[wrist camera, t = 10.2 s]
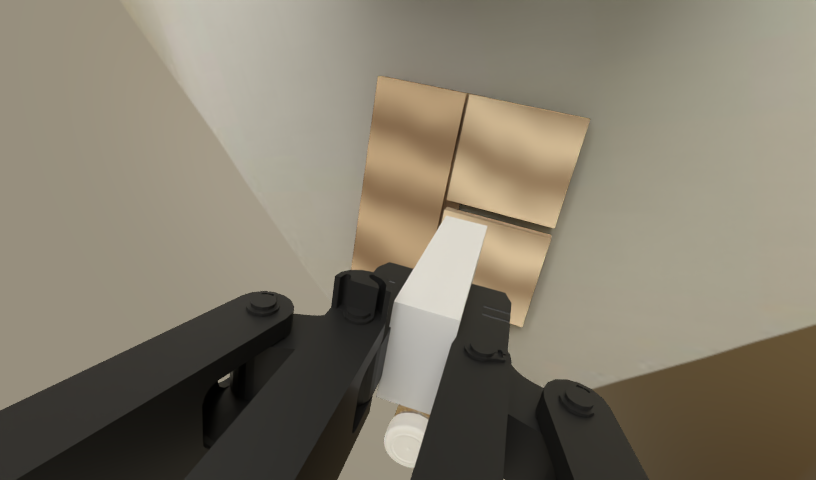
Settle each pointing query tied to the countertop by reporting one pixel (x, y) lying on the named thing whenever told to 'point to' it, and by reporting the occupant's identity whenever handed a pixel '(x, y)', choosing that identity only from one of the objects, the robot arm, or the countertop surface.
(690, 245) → the countertop surface
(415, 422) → the sprinkles bottle
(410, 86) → the laid board
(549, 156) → the plank
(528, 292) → the plank
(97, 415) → the robot arm
